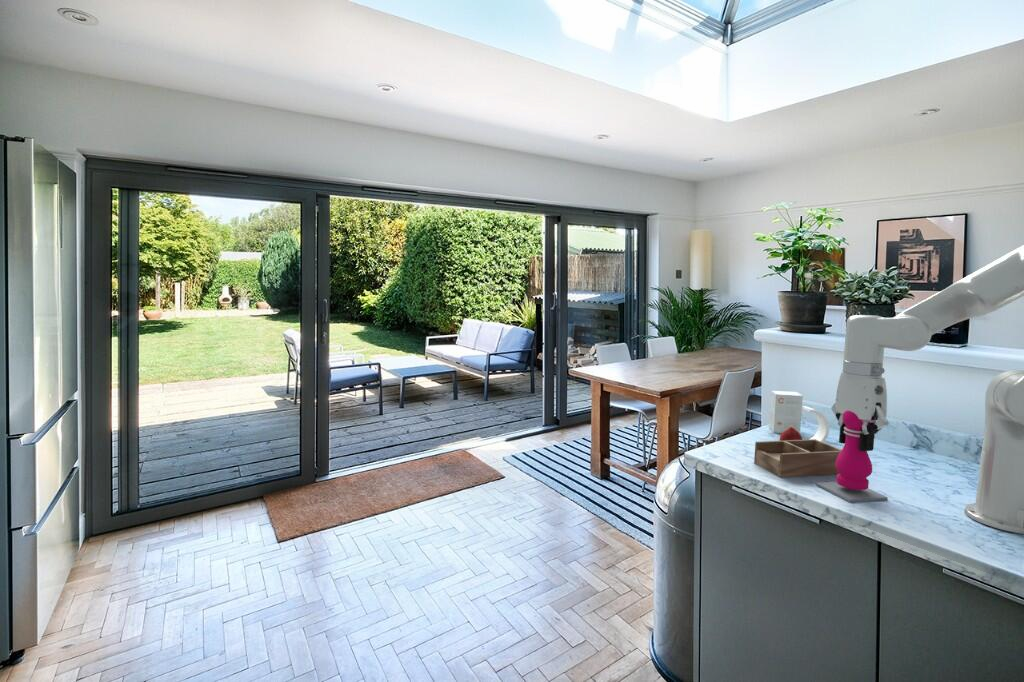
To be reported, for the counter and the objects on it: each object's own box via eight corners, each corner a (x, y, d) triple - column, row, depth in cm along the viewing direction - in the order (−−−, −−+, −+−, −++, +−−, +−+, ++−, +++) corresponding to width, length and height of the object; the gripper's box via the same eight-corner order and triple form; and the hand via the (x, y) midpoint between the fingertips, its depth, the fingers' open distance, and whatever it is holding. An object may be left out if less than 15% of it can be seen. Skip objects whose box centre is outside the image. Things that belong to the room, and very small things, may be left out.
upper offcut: (797, 469, 133) (798, 462, 133) (777, 468, 133) (777, 461, 133) (784, 460, 140) (785, 453, 140) (765, 459, 140) (765, 453, 140)
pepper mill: (876, 492, 117) (884, 405, 115) (841, 489, 119) (848, 403, 117) (862, 480, 124) (869, 398, 122) (829, 478, 126) (835, 397, 124)
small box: (794, 429, 175) (797, 391, 174) (800, 434, 169) (803, 395, 168) (768, 427, 177) (770, 390, 175) (773, 433, 171) (776, 394, 169)
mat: (887, 499, 118) (887, 497, 118) (849, 502, 116) (849, 499, 116) (851, 483, 128) (851, 480, 128) (815, 485, 126) (815, 482, 126)
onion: (803, 452, 151) (805, 425, 150) (798, 457, 146) (800, 429, 146) (782, 448, 155) (784, 422, 154) (776, 452, 150) (778, 425, 149)
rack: (844, 474, 134) (846, 451, 133) (780, 477, 131) (782, 454, 130) (813, 460, 144) (815, 439, 144) (754, 463, 141) (755, 441, 140)
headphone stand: (799, 444, 159) (802, 405, 157) (819, 445, 158) (823, 406, 157) (806, 449, 154) (809, 409, 153) (827, 449, 154) (831, 410, 152)
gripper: (910, 375, 111) (902, 458, 113) (846, 363, 128) (840, 435, 130) (880, 376, 110) (873, 459, 112) (819, 363, 126) (814, 436, 128)
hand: (855, 445), depth 121 cm, fingers closed on pepper mill, 5 cm apart
